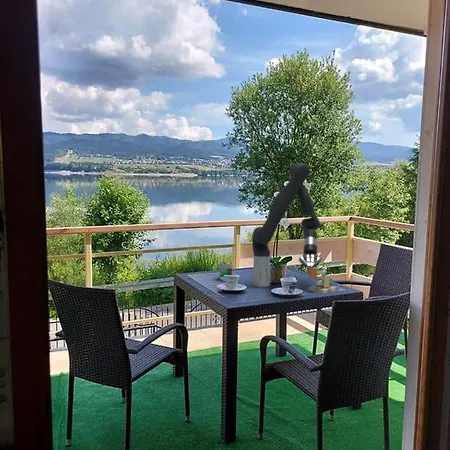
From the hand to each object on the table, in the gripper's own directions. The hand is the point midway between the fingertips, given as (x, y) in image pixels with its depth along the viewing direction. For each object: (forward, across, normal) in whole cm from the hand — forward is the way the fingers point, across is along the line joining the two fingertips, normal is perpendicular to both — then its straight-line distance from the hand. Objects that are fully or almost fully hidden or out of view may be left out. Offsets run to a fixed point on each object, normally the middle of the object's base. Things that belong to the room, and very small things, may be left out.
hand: (310, 273), depth 257 cm
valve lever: (+1, +4, +3) cm, 5 cm away
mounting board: (+4, +7, +10) cm, 13 cm away
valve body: (+3, +7, +9) cm, 12 cm away
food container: (-6, -51, +21) cm, 55 cm away
